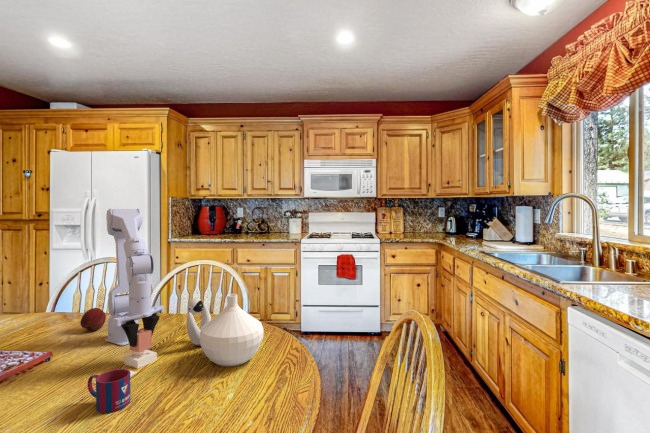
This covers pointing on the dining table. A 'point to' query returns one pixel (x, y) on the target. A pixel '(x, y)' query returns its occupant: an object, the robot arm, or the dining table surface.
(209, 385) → the dining table surface
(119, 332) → the robot arm
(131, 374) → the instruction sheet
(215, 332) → the vase
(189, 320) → the toy
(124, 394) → the mug
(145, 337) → the red brick
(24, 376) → the dining table surface
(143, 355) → the base brick
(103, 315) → the apple
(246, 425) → the dining table surface
